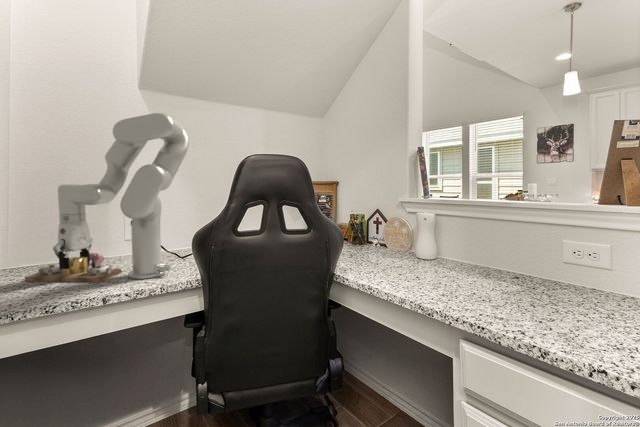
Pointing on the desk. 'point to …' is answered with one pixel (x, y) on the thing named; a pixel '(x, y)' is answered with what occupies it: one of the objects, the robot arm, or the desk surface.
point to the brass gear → (77, 265)
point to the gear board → (90, 275)
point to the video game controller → (96, 259)
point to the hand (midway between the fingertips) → (75, 265)
